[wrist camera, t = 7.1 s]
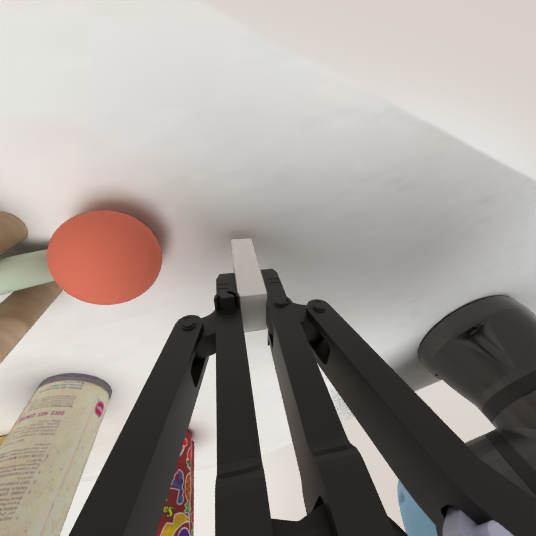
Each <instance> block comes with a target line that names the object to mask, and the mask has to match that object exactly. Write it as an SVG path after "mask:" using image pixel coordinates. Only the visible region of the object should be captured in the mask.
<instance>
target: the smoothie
mask: <svg viewBox="0 0 536 536" xmlns="http://www.w3.org/2000/svg"><path fill="white" fill-rule="evenodd" d="M193 518H194V442H193V441H192V440H191V433H190V432H189V431H187V433H186V436H185V439H184V443H183V446H182V450H181V453H180V456H179V460H178V463H177V466H176V470H175V473H174V476H173V480H172V483H171V486H170V490H169V493H168V497H167V500H166V503H165V507H164V510H163V513H162V517H161V520H160V523H159V527H158V530H157V533H156V536H193V525H194V519H193Z"/></svg>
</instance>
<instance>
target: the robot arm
mask: <svg viewBox="0 0 536 536" xmlns="http://www.w3.org/2000/svg"><path fill="white" fill-rule="evenodd" d="M231 245H232V257H233V270H234V273H228V274H219V276H218V278H217V279H216V285H217V286H216V289H217V294H216V295H215V297H214V303H215V311H214V312H213V313H212V314H210V315H208V316H206V317H204V318H200V317H198V316H196V315H188V316H185V317H182V318H181V319H179V320H178V321H177V323H176V324H175V326H174V328H173V330H172V332H171V334H170V336H169V338H168V340H167V342H166V344H165V346H164V348H163V350H162V352H161V354H160V356H159V358H158V360H157V362H156V364H155V366H154V368H153V370H152V372H151V374H150V376H149V378H148V380H147V382H146V384H145V385H144V387H143V389H142V391H141V393H140V395H139V397H138V399H137V401H136V403H135V405H134V407H133V409H132V411H131V413H130V415H129V417H128V419H127V421H126V423H125V425H124V427H123V429H122V431H121V433H120V435H119V437H118V439H117V441H116V443H115V445H114V447H113V449H112V451H111V453H110V455H109V457H108V459H107V461H106V463H105V465H104V467H103V469H102V471H101V473H100V475H99V477H98V479H97V481H96V483H95V485H94V487H93V489H92V491H91V493H90V495H89V497H88V499H87V500H86V503H85V504H84V507H83V508H82V510H81V512H80V514H79V516H78V518H77V520H76V522H75V524H74V527H73V528H72V530H71V532H70V534H69V536H156V533H157V530H158V527H159V523H160V520H161V517H162V513H163V510H164V507H165V503H166V500H167V497H168V493H169V490H170V486H171V483H172V480H173V476H174V473H175V470H176V466H177V463H178V460H179V456H180V453H181V450H182V446H183V443H184V439H185V436H186V433H187V429H188V426H189V423H190V419H191V416H192V413H193V409H194V406H195V403H196V399H197V396H198V392H199V389H200V386H201V382H202V379H203V376H204V372H205V369H206V366H207V362H208V359H209V356H210V355H213V354H215V353H216V402H217V477H216V485H215V487H216V488H215V536H536V316H535V315H534V314H533V313H532V311H530V310H529V309H528V308H527V307H525V306H523V305H522V304H520V303H519V302H517V301H516V300H514V299H512V298H510V297H507V296H494V297H488V298H485V299H481V300H478V301H476V302H473V303H471V304H469V305H467V306H465V307H463V308H461V309H459V310H457V311H456V312H454V313H452V314H451V315H449V316H448V317H447V318H445V319H444V320H443V321H441V322H440V323H439V324H438V325H437V326H436V327H435V328H434V329H433V330H432V331H431V332H430V333H429V334H428V335H427V336H426V338H425V339H424V341H423V342H422V344H421V346H420V349H419V359H420V361H421V362H422V363H423V364H424V365H425V367H426V368H427V369H428V370H429V371H430V372H431V373H432V374H433V375H434V376H436V377H437V378H439V379H442V380H444V381H445V382H446V383H447V384H448V385H449V386H450V387H452V388H453V389H454V390H456V391H457V392H458V393H460V394H461V395H462V396H464V397H465V398H466V399H468V400H469V401H470V402H472V403H473V404H474V405H476V406H477V407H478V408H479V409H480V410H481V412H482V413H483V414H484V415H485V416H486V417H487V418H488V419H489V421H490V422H491V423H492V424H493V425H494V426H495V428H496V429H495V430H493V431H491V432H489V433H487V434H484V435H482V436H479V437H477V438H475V439H473V440H471V441H468V442H466V443H464V442H463V441H462V440H461V439H460V438H459V437H458V436H457V435H456V434H455V433H454V432H453V431H452V430H451V429H450V428H449V427H448V426H447V425H446V424H445V423H444V422H443V421H442V420H441V419H440V418H439V417H438V416H437V415H436V414H435V413H434V412H433V410H432V409H431V408H430V407H429V406H427V404H426V403H425V402H424V401H423V400H422V399H421V398H420V397H419V396H418V395H417V394H416V393H415V392H414V391H413V390H412V389H411V388H410V387H409V386H408V385H407V384H406V383H405V382H404V381H403V380H402V379H401V378H400V377H399V376H398V375H397V374H396V373H395V372H394V370H393V369H392V368H391V367H390V366H389V365H388V364H387V363H386V362H385V361H384V360H383V359H382V358H381V357H380V356H379V355H378V354H377V353H376V352H375V351H374V350H373V349H372V348H371V347H370V346H369V345H368V344H367V343H366V342H365V341H364V340H363V339H362V338H361V337H360V336H359V335H358V334H357V333H356V331H355V330H354V329H353V328H352V327H351V326H350V325H349V324H348V323H347V322H346V321H345V320H344V319H343V318H342V317H341V316H340V315H339V314H338V313H337V312H336V311H335V310H334V309H333V308H332V307H331V306H330V305H329V304H328V303H327V302H325V301H323V300H317V299H316V300H311V301H309V302H308V304H307V305H299V304H295V303H293V302H292V301H291V300H290V299H289V298H288V297H286V294H285V291H284V289H283V286H282V284H281V281H280V279H279V276H278V274H277V272H276V271H274V270H273V269H266V270H260V267H259V264H258V260H257V257H256V254H255V250H254V247H253V243H252V240H251V238H248V239H233V240H231ZM266 328H268V345H270V347H271V352H272V356H273V360H274V365H275V369H276V373H277V377H278V382H279V386H280V390H281V394H282V399H283V403H284V407H285V411H286V416H287V420H288V424H289V428H290V433H291V437H292V441H293V445H294V449H295V454H296V458H297V462H298V466H299V471H300V476H301V481H302V491H303V497H304V503H305V507H306V512H307V516H305V517H304V518H303V519H301V520H300V521H287V520H279V519H271V516H270V510H269V502H268V495H267V487H266V481H265V474H264V469H263V465H262V460H261V452H260V445H259V437H258V430H257V423H256V416H255V408H254V401H253V394H252V387H251V379H250V372H249V365H248V357H247V350H246V343H245V336H244V332H250V331H257V330H264V329H266ZM317 363H318V365H319V366H320V368H321V369H322V370H323V372H324V373H325V375H326V376H327V378H328V379H329V380H330V382H331V383H332V385H333V386H334V388H335V389H336V390H337V392H338V393H339V395H340V396H341V397H342V399H343V400H344V402H345V403H346V405H347V406H348V407H349V409H350V410H351V412H352V413H353V415H354V416H355V417H356V419H357V420H358V422H359V423H360V425H361V426H362V427H363V429H364V430H365V432H366V433H367V434H368V436H369V437H370V439H371V440H372V441H373V443H374V445H375V446H376V447H377V449H378V450H379V452H380V453H381V454H382V456H383V457H384V459H385V460H386V462H387V463H388V464H389V466H390V467H391V469H392V470H393V471H394V473H395V475H396V476H397V477H398V479H399V481H398V501H399V505H400V511H401V516H402V519H403V523H404V527H405V530H406V533H407V534H406V533H405V532H404V531H403V530H402V529H401V528H400V527H399V526H398V525H397V524H396V523H395V522H394V521H393V520H392V519H391V518H389V517H388V516H387V514H386V512H385V509H384V507H383V505H382V502H381V500H380V498H379V496H378V493H377V491H376V488H375V486H374V484H373V481H372V479H371V477H370V474H369V472H368V470H367V467H366V465H365V463H364V460H363V458H362V456H361V454H360V453H359V451H358V450H357V448H356V447H355V446H353V445H352V444H351V443H350V442H349V440H348V438H347V436H346V434H345V431H344V429H343V427H342V424H341V421H340V419H339V417H338V414H337V412H336V409H335V407H334V404H333V402H332V399H331V397H330V394H329V392H328V389H327V387H326V384H325V382H324V380H323V377H322V375H321V372H320V370H319V367H318V365H317Z"/></svg>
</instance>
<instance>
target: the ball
mask: <svg viewBox="0 0 536 536" xmlns="http://www.w3.org/2000/svg"><path fill="white" fill-rule="evenodd" d="M47 264H48V268H49V271H50V273H51V275H52V277H53V279H54V280H55V282H56V283H57V284H58V285H59V286H60V287H61V288H62V289H63V290H64V291H65V292H67V293H68V294H70V295H71V296H73V297H75V298H77V299H79V300H82V301H85V302H88V303H92V304H99V305H112V304H119V303H123V302H127V301H130V300H132V299H134V298H136V297H138V296H140V295H141V294H143V293H144V292H145V291H147V290H148V289H149V288H150V287H151V286H152V284H153V283H154V282H155V280H156V279H157V276H158V274H159V272H160V269H161V264H162V254H161V249H160V245H159V243H158V241H157V239H156V237H155V235H154V234H153V233H152V231H151V230H150V229H149V228H148V227H147V226H146V225H145V224H143V223H142V222H141V221H139V220H138V219H136V218H134V217H132V216H130V215H127V214H124V213H121V212H117V211H109V210H96V211H89V212H85V213H82V214H79V215H76V216H74V217H73V218H71V219H69V220H67V221H66V222H65V223H63V224H62V225H61V226H60V227H59V228H58V229H57V230H56V231H55V233H54V234H53V236H52V238H51V240H50V242H49V245H48V249H47Z"/></svg>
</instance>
